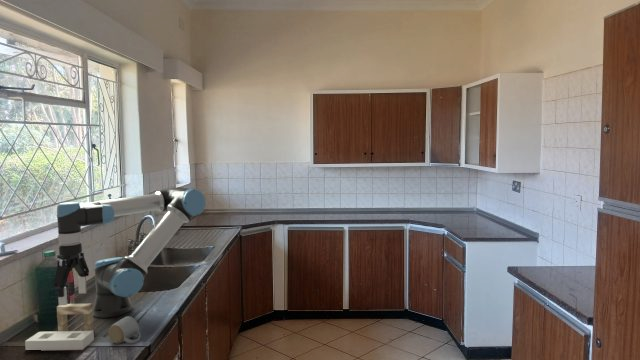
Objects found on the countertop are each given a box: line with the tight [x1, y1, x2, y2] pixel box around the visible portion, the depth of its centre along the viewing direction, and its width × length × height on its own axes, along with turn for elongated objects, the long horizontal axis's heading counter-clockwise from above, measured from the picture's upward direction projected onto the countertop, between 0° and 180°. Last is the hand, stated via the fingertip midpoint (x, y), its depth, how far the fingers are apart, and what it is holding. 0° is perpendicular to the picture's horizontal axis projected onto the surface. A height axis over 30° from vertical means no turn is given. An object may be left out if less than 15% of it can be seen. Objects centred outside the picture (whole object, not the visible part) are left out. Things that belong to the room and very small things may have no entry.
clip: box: [56, 302, 95, 331], centre depth 173 cm, size 12×3×11 cm, turn 90°
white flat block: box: [24, 330, 95, 351], centre depth 162 cm, size 20×8×4 cm, turn 90°
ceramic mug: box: [107, 315, 141, 345], centre depth 165 cm, size 11×8×8 cm
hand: (73, 298), depth 172 cm, fingers open, 13 cm apart
